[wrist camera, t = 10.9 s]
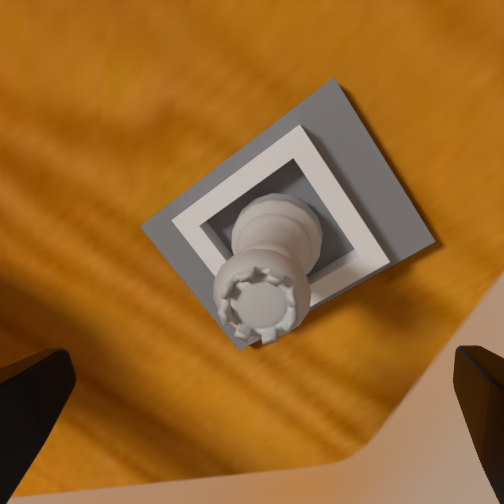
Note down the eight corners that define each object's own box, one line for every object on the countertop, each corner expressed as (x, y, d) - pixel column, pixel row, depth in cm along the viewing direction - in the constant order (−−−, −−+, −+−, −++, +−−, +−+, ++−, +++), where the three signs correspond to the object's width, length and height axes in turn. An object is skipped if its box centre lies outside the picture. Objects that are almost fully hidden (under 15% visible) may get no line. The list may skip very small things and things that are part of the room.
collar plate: (242, 341, 22) (235, 363, 20) (147, 221, 20) (129, 232, 18) (429, 235, 18) (444, 249, 16) (332, 79, 17) (335, 73, 15)
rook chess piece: (241, 278, 20) (200, 372, 12) (228, 196, 18) (173, 246, 11) (325, 272, 19) (336, 369, 11) (318, 186, 17) (327, 232, 10)
